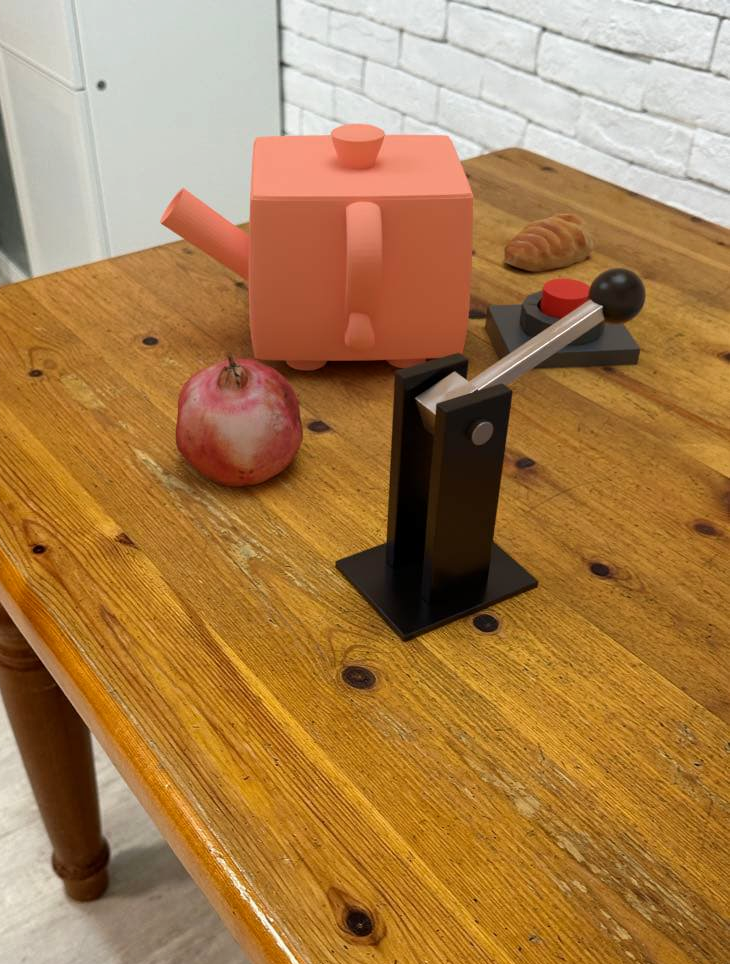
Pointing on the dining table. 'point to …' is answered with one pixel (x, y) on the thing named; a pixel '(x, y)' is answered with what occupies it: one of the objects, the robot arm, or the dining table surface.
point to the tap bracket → (440, 509)
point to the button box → (589, 349)
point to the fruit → (238, 422)
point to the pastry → (550, 243)
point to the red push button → (563, 297)
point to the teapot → (348, 247)
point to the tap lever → (546, 339)
